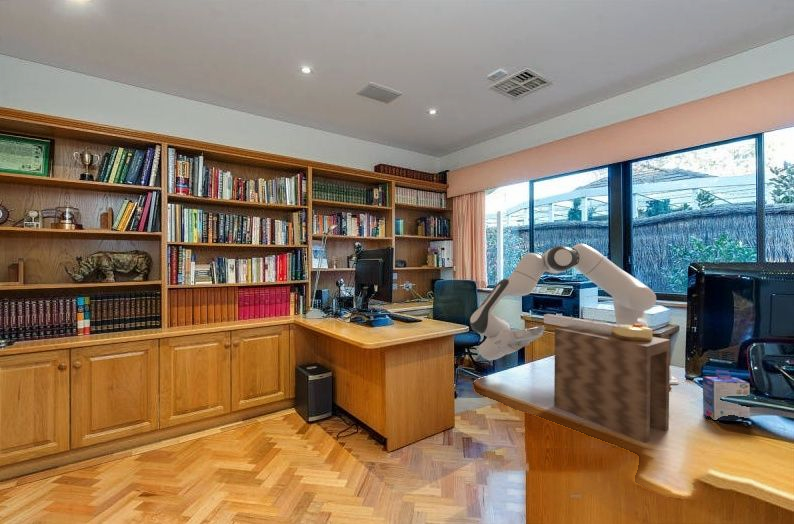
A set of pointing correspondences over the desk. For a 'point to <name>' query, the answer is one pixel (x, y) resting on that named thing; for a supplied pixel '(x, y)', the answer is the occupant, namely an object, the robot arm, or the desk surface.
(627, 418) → the chevron wooden end table
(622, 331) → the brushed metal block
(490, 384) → the desk surface
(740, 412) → the ink cartridge box
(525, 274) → the robot arm
